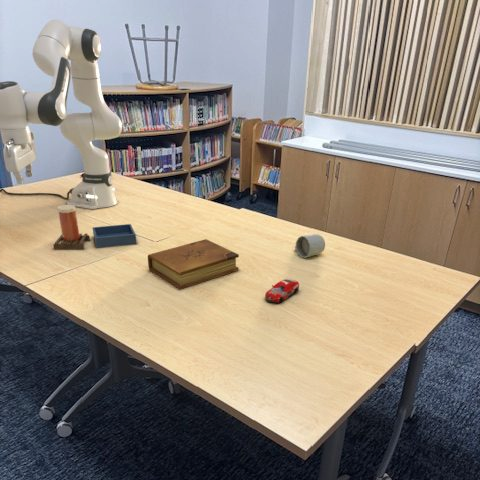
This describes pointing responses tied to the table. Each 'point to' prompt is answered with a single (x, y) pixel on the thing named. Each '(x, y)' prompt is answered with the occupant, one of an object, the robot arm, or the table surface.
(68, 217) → the cup
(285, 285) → the race car
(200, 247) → the diary
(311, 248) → the ceramic mug
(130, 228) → the tray
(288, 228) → the table surface
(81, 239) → the drying rack
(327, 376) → the table surface
